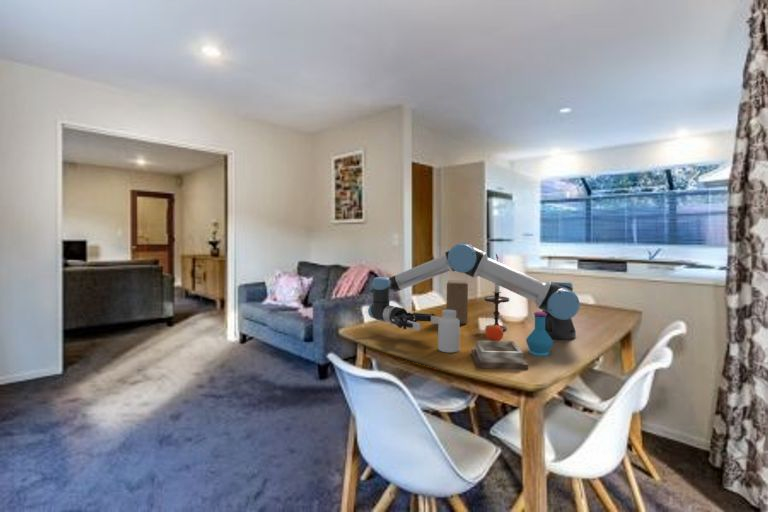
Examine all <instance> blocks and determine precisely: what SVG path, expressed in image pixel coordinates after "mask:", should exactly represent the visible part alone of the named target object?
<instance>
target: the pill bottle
mask: <svg viewBox="0 0 768 512" xmlns="http://www.w3.org/2000/svg"><path fill="white" fill-rule="evenodd" d="M460 325H461V324H460V321H459V319H458V318H456V311H455V310H449V309H447V308H446V309H443V310H442V311H441V318H440V319H439V321H438V324H437V327H438V328H437V330H438V332H437V349H438V350H439V351H440V352H443V353H448V354H450V353H457V352H459V351H460V327H461V326H460Z"/></svg>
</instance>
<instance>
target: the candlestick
mask: <svg viewBox="0 0 768 512" xmlns="http://www.w3.org/2000/svg"><path fill="white" fill-rule="evenodd" d="M495 257H496V261H497V262H499V256H498V254H497V253H495ZM492 293H494V295H490V296H489V295H487V296H484V301H486V302H489V303H493V304H494V311H493V315H494V317H493V320H494V323H493V325H494V324H495V325H498V326H500V327H501V328H502V330H503V333H504V332H506V331H507V330H508V329H507V327H506V326H504V325H500V324H499V320H500V317H499V316H500V312H499V304H501V303H508V302H510V297H506V296H501V295H500V294H501V293H502V292H501V291H500V286H499V285H497V284H495V283H494V291H492ZM489 326H490V324H488V326H487V325H485V329H487V328H488V327H489Z"/></svg>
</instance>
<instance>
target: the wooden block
mask: <svg viewBox="0 0 768 512" xmlns="http://www.w3.org/2000/svg"><path fill="white" fill-rule="evenodd" d="M468 291H469V283H468V281H467V280H450V279H449V280H447V283H446V310H447V309H449V310H455V311H456V318H458V319H459V321H460V325H467V324H468V311H469V310H468V303H469V299H468V298H469V297H468V296H469V295H468V294H469V293H468Z"/></svg>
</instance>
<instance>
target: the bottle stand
mask: <svg viewBox="0 0 768 512" xmlns="http://www.w3.org/2000/svg"><path fill="white" fill-rule="evenodd" d="M474 343H475V347H474V348H471V350H470V353H471V355H472V358H473V360H474V362H475V364H476V366H477V368H478V369H504V370H505V369H507V370H529V364H528V363H527V361H526V360H525V359H524V352H523V351H522V349H520V347H519V346H518V345H517V344H516V342H515V341H513V340H511V341H510V340H500V341H490V340H475V342H474Z"/></svg>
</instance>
